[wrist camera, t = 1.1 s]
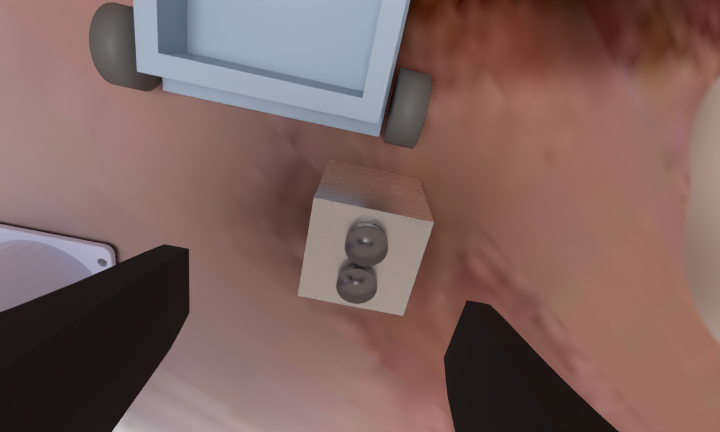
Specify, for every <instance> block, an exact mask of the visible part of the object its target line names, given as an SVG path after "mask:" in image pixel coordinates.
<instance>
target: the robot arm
mask: <svg viewBox="0 0 720 432" xmlns="http://www.w3.org/2000/svg"><path fill="white" fill-rule="evenodd" d="M103 259H104V260H105V261H106V262H105V261H104V260H103ZM188 314H189V249H187V248H181V247H176V246H170V245H165V244H164V245H161V246H159V247H156V248H154V249H151V250H149V251H146V252H144V253H142V254H139V255H137V256H135V257H132V258H130V259H128V260H126V261H123V262H121V263H119V264H117V265H116V260H115V253H114V250H113V249H112V248H111V247H110V246H109V245H106V244H102V243H97V242H91V241H86V240H81V239H76V238H71V237H65V236H60V235H55V234H50V233H45V232H39V231H34V230H29V229H24V228H19V227H13V226H8V225H3V224H0V432H112V431H113V429H114V428H115V426H116V425H117V424H118V422H119V421H120V419H121V418H122V417H123V415H124V414H125V412H126V411H127V409H128V408H129V407H130V405H131V404H132V402H133V401H134V400H135V398H136V397H137V395H138V394H139V393H140V391H141V390H142V388H143V387H144V386H145V384H146V383H147V381H148V380H149V378H150V377H151V376H152V374H153V373H154V371H155V370H156V368H157V367H158V366H159V364H160V363H161V361H162V360H163V358H164V357H165V356H166V354H167V353H168V351H169V350H170V348H171V346H172V345H173V343H174V341H175V339H176V337H177V335H178V334H179V332H180V330H181V328H182V326H183V324H184V322H185V320H186V318H187V316H188ZM444 364H445V376H446V386H447V395H448V400H449V405H450V409H451V414H452V419H453V423H454V428H455V432H619V431H617V430H616V429H615V428H614V427H613V426H612V425H611V424H610V423H608V422H607V421H606V420H605V419H604V418H603V417H602V416H601V415H600V414H598V413H597V412H596V411H595V410H594V409H593V408H592V407H591V406H590V405H589V404H588V403H587V402H586V401H585V400H584V399H583V398H582V397H580V396H579V395H578V394H577V393H576V392H575V391H574V390H573V389H572V388H571V387H570V386H569V385H568V384H567V383H566V382H565V381H564V380H563V379H562V378H561V377H560V376H559V375H558V374H557V373H556V372H555V371H554V370H553V369H552V368H551V367H550V366H549V365H548V364H547V363H546V362H545V361H544V360H543V359H542V358H541V357H540V356H539V355H538V354H537V353H536V352H535V351H534V349H533V348H532V347H531V346H530V345H529V344H528V343H527V342H526V341H525V340H524V339H523V338H522V337H521V336H520V335H519V334H518V333H517V332H516V331H515V329H514V328H513V327H512V326H511V325H510V324H509V323H508V322H507V321H506V320H505V319H504V318H503V317H502V316H501V315H500V314H499V313H498V312H497V311H496V310H495V309H494V308H493V307H492V306H491V305H489V304H484V303H479V302H473V301H468V300H467V301H466V304H465V306H464V309H463V311H462V314H461V316H460V319H459V321H458V324H457V326H456V329H455V331H454V334H453V336H452V339H451V341H450V344H449V346H448V349H447V351H446V354H445V356H444Z"/></svg>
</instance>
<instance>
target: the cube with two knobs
mask: <svg viewBox="0 0 720 432" xmlns="http://www.w3.org/2000/svg"><path fill="white" fill-rule="evenodd" d="M433 224H434V221H433V218H432V215H431V212H430V209H429V206H428V203H427V200H426V197H425V194H424V191H423V188H422V185H421V182H420V179H419V178H415V177H411V176H406V175H401V174H397V173H392V172H387V171H382V170H378V169H373V168H368V167H363V166H359V165H354V164H349V163H344V162H340V161H335V160H330V159H329V162H328V164H327V167H326V169H325V171H324V174H323V176H322V179H321V181H320V184H319V186H318V188H317V191H316V193H315V196H314V199H313V205H312V211H311V217H310V223H309V229H308V235H307V242H306V248H305V254H304V260H303V266H302V272H301V278H300V284H299V290H298V296H301V297H306V298H312V299H317V300H322V301H327V302H333V303H338V304H343V305H348V306H353V307H359V308H364V309H369V310H374V311H380V312H385V313H390V314H395V315H401V316H403V315H404V312H405V309H406V306H407V303H408V300H409V297H410V294H411V291H412V288H413V285H414V282H415V278H416V275H417V272H418V269H419V266H420V263H421V260H422V257H423V254H424V251H425V248H426V245H427V242H428V239H429V236H430V233H431V230H432V227H433Z"/></svg>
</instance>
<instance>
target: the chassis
mask: <svg viewBox="0 0 720 432" xmlns="http://www.w3.org/2000/svg"><path fill="white" fill-rule="evenodd" d="M409 4H410V0H133V7H131V6H126V5H122V4H117V3H111V2H110V3H106V4H103V5H102V6H100V7H99V8H98V10H97V11H96V12H95V14H94V16H93V19H92V22H91V26H90V32H89V44H90V51H91V56H92V59H93V62H94V64H95V67H96V69H97V70H98V72H99V73H100V75H101V76H102V77H103V78H104V79H105V80H106V81H107V82H109V83H111V84H114V85H119V86H123V87H128V88H133V89H137V90H142V91H151V90H153V89H155V88H156V87H157V86H158V85H159V83H160V82H161V80H162V79H163V90H164V91H168V92H173V93H177V94H182V95H187V96H191V97H196V98H201V99H205V100H210V101H214V102H219V103H224V104H228V105H233V106H238V107H242V108H247V109H252V110H256V111H261V112H265V113H270V114H275V115H279V116H284V117H289V118H293V119H298V120H302V121H307V122H312V123H316V124H321V125H326V126H330V127H335V128H339V129H344V130H349V131H353V132H358V133H363V134H367V135H372V136H377V137H379V134H380V130H381V126H382V121H383V117H384V113H385V108H386V104H387V100H388V95H389V91H390V87H391V82H392V78H393V73H394V69H395V65H396V60H397V56H398V52H399V47H400V43H401V39H402V34H403V30H404V26H405V21H406V17H407V13H408V8H409ZM431 85H432V77H431V75H430V74H426V73H421V72H417V71H413V70H408V69H404V68H400V70H399V73H398V76H397V79H396V82H395V86H394V89H393V93H392V97H391V102H390V106H389V110H388V115H387V120H386V126H385V132H384V143H388V144H393V145H397V146H402V147H407V148H411V149H412V148H413V147H414V146H415V144H416V142H417V140H418V138H419V135H420V132H421V129H422V126H423V123H424V120H425V116H426V112H427V108H428V103H429V98H430V93H431Z"/></svg>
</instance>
